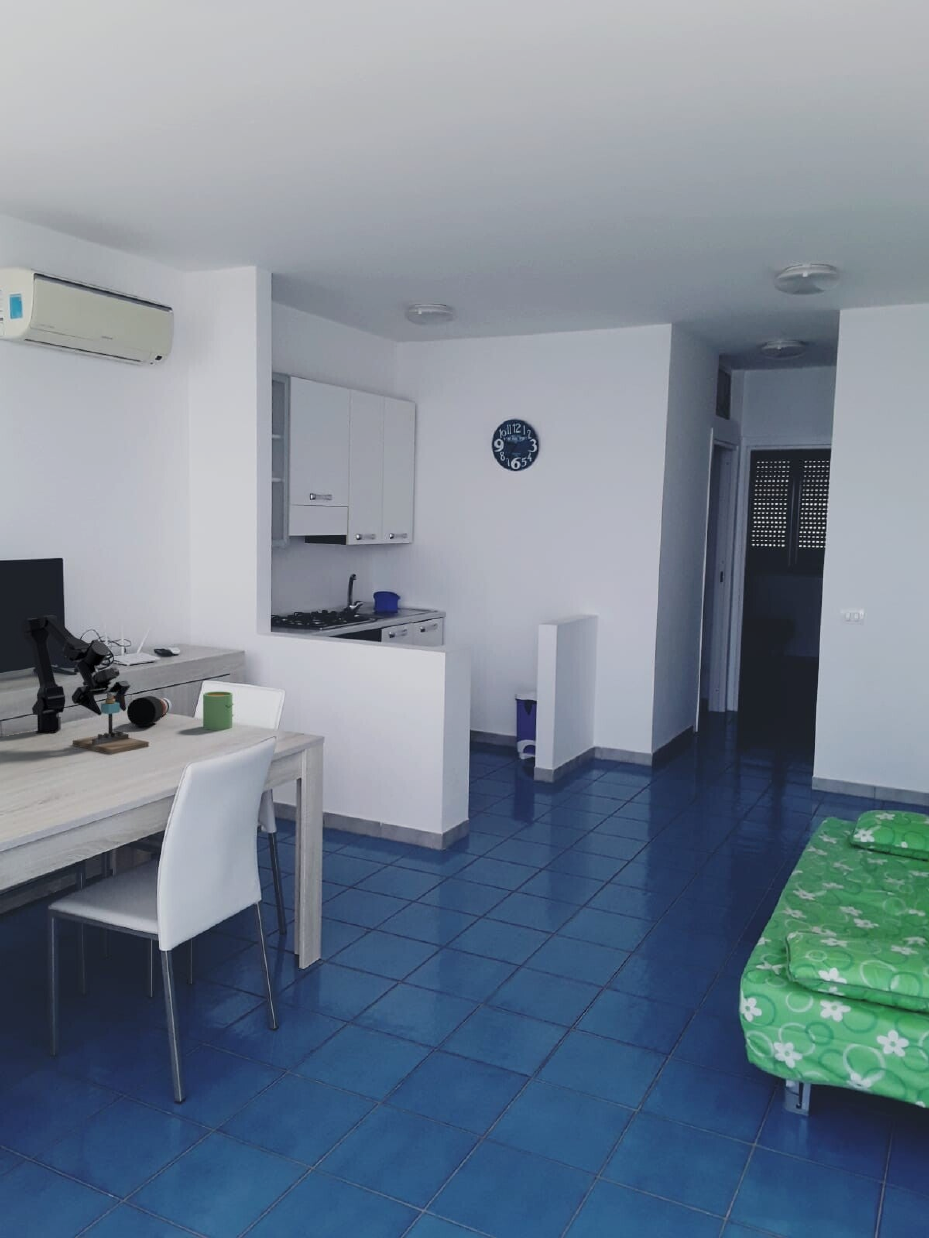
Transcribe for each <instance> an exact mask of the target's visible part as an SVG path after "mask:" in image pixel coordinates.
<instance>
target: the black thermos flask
mask: <svg viewBox="0 0 929 1238" xmlns="http://www.w3.org/2000/svg"><path fill="white" fill-rule="evenodd" d="M171 709H172V702H171V701H170V700H169V699H168V698H165V697H161V698H160V697H159V698H157V697H156V696H152V695H147V696H141V697H138V698H135V699H133V700H132V701H131V702H130V703H129V705H128V706H127V708H126V714H127V715H126V716H127V718H128V720H129V721H130V723H131V724H133V725H135V726H137V727H146V726H149V725H152V724H155V723H157V722H159V721H160V719H162V717H163V715H165V714H167V713H169V712H170V711H171Z"/></svg>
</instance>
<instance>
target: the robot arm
mask: <svg viewBox="0 0 929 1238" xmlns="http://www.w3.org/2000/svg"><path fill="white" fill-rule="evenodd" d="M20 629H21V632H22V635H23V638H24V640H25V641H27V643H29V644H30V646H31V650H32V656H33V659H34V660H33V661H34V664H35V669H36V673H37V679H38V682H39V687H38V690H37V693H36V699H37V700H36V702H35V703H34V704H33V706H32V707H31V711H32V714H33V715H35V716H37V719H36V721H37V723H36V725H37V730H35V733H37V734H39V733H41V734H42V733H45V734H46V733H50V734H52V733H53V734H55V733H57V732H59V731H60V730H61V729H62V728H61V727H62V725H61V724H62V723H61V722H62V721H61V716H60V713H63V712H64V709H65V705H66V695H65V691H64V686H62V685H58V684H57V683H56V680H55V675H54V669H53V666H52V660H51V657H50V652H49V646H48V639H49V637H50V635H51V637H52V638H54V639H55V641H56V642H57V643H58V644H59V645H60V646H61V647H62V653H63V655H64V657H65V658H66V659H67V661H69V662H78V663H77V664H75V665H74V669H73V673H74V674H77V673H79V674H80V676H81V678H82V680H83V682H82V686H78V687H76V689H75V691H74V692H73V693H72V695H71V701H72V702H73V704H74V705H78V706H82V707H83V708H86V709H88V710H89V711H91V712H93V713H95V714H96V715H98V716H102V713H101V707H99V704H98V702H97V701H96V699H95V696H103V695H107V693H114V699H115V702H117V703H120V709H121V710H122V711H123V712H126V711H127V705H126V704H127V703H126V699H125V698H126V697H125V695H126V694H127V692H128V690H129V689H130V688H131V685H130V683H129V682H128V680H121V681H116V682H115V683H114V684H113V685H112V686H109V685H111V684H112V680H114V679H117V677H119V676H120V674H121V673H120V670H119V669H118V667H117V666H111V667H109V668H105V669H101V670H100V669H99V667H98V666H100V665H102V664H103V662H104V660H105V659H106V658H107V656H108V654H109V653H110V648H109V646H108V645H107V644H106V643H103V642H101V641H99V640H98V639H92V640H91V642H90V644H89V643H88V642H86V641H85V640H83V639H81V638H79V637H75V636H74V635H73V634H72V633H71V632H70V631H69V629H67V627H66V626H65V625H64V624H63V623H62V622H61V621H60V620H59V618H58V616H57V615H53V614H51V615H42V616H41V617H37V618H35V617H34V618H33V617H32V618H24V619H23V621H22V623H21V625H20Z"/></svg>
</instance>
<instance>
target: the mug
mask: <svg viewBox="0 0 929 1238" xmlns="http://www.w3.org/2000/svg"><path fill="white" fill-rule="evenodd" d="M202 700H203V701H202V707H203V708H202V728H203V730H207V729H210V730H209V731H225V730H230V729H232V728H233V717H234V714H233V706H234V703H233V693H232V692H230V691H220V690H219V691H207V692H204V693H202Z"/></svg>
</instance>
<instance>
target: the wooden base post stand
mask: <svg viewBox="0 0 929 1238" xmlns="http://www.w3.org/2000/svg"><path fill="white" fill-rule="evenodd" d="M104 700H105V701H104V703H108V704H112V703H115V699H114V693H107V694H106V698H105V699H104ZM107 715H108V717H107V718H108V721H107V722H108V723H107V724H108V732H104V733H103V734H101V733H98V734H97V735H93V736H89V737H84V738H79V739H73V740H72V746H75V747H78V748H79V747H81V748H85V749H88V750H93V751H97V752H102V753H106V754H109V755H114V754H119V753H124V752H128V751H135V750H139V749H143V748H148V747H150V746H149V745H150V744H149V743H150V742H149V741H145V740H142V739H141V740H140V739H138V738H137V739H136V738H133V737H129V733H127V732H126V733H125V732H124V731H122V730H116V731H113V713H112V714H107Z"/></svg>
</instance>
